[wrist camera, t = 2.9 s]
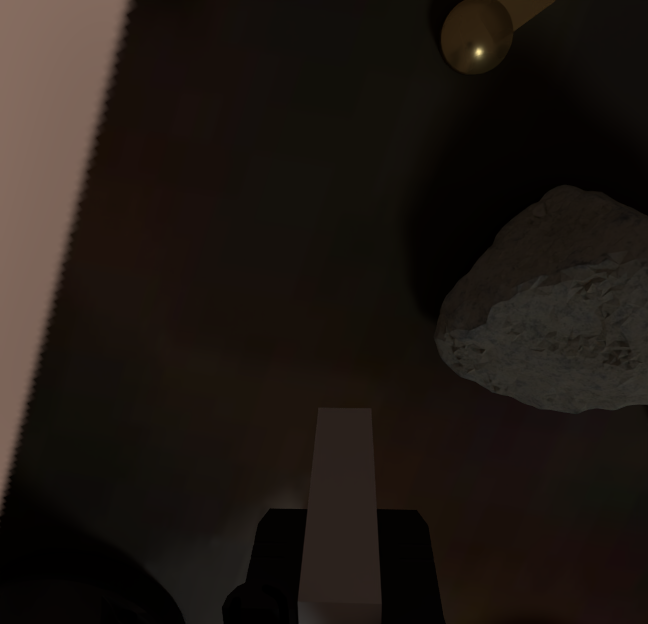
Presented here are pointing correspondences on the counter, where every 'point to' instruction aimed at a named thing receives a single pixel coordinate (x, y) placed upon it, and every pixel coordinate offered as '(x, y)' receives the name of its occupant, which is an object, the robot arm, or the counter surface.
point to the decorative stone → (556, 306)
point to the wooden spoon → (483, 32)
